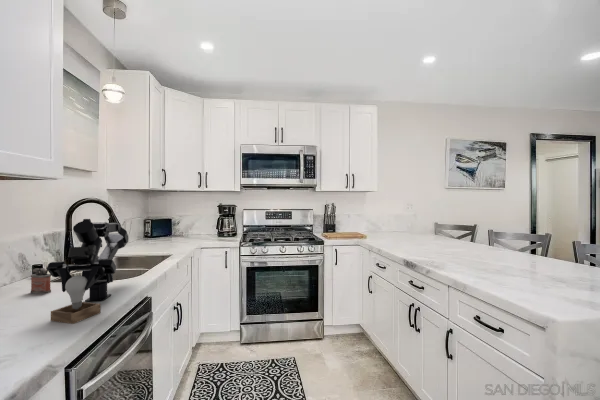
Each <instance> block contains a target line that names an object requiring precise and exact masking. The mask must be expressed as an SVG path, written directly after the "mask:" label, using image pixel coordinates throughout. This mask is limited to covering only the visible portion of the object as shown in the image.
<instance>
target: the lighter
mask: <svg viewBox="0 0 600 400" xmlns="http://www.w3.org/2000/svg"><path fill="white" fill-rule="evenodd" d="M32 272H33V273H34V274H33V273H32V274H30V279H31V281H30V283H31V285H30V287H31V288H30V294H36V295H44V294H45V295H46V294H50V293H52V289H51V278H52V275H51V274H50V273H49V272H48V270H47V269H46V268H42V267H41V268H33V269H32Z"/></svg>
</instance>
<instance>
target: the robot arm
mask: <svg viewBox="0 0 600 400" xmlns="http://www.w3.org/2000/svg"><path fill="white" fill-rule="evenodd" d="M72 230H73V232H74V234H75V236H76V238H77V240H78V241H79V242H80V243H81V244H80V246H72V247H69V251H68V256H67V257H68V258H70V259H71V260H70V261H71V263H73V264H67V263H66V262H65V261H51V262H49V263H48V264H47V266H46V268H45V269H47V270H48V274H51V278H52V277H53V278H61V292H63V293H65V292H67V291H66V290H65V284H66V282H67V281H68V280H69V279H70V278H72V277H73V276H72V275H71V272H74V271H75V272H81V276H83V277H85V278H86V279H87V280H88V281H87V284H86V287H85V290H86V291H88V290H89V296H88V298H87V299H85V300H84V302H100V301H105V300H106V299H108V298H110V297H111V296H112V294H111V293H108V284H110V283H113V282H114V274H115V273H116V270H117V266H116V263H115V261H114V258H115V256H116V254H117V253H118V251H119V250H121V249H123V248H124V247H126V245H127V244H128V243H129V234H128V231H127V230H126V229H125V228H123V227H122V225H121V223H119V222H106V221H105V222H98V221H97V222H95V221H94V222H92V221H91V218H84V219H83V220H82V221H79V222H76V224H75V225H73V227H72ZM102 238H104V241H105V244H106V245H105V247H104V248H103V250H102V251H101V253H100V254H99V252H100V250H101V248H102V247H103V239H102Z"/></svg>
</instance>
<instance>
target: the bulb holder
mask: <svg viewBox="0 0 600 400" xmlns="http://www.w3.org/2000/svg"><path fill="white" fill-rule="evenodd" d="M101 306H102V305H101V303H96V302H89V301H87V302H85V301H82V306H81V307H80V308H79V309H73V308H72V303H70V304H68V305H65V306H63V307H59V308H56V309H54V310H51V311H50V321H51V322H56V323H63V324H64V323H65V324H72V325H73V324H77V323H79V322H80V321H84V320H86V319H88V318H91V317H93V316H95V315H98V314H100V313H101V309H102V307H101Z"/></svg>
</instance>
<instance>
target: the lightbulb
mask: <svg viewBox="0 0 600 400" xmlns="http://www.w3.org/2000/svg"><path fill="white" fill-rule="evenodd" d="M87 281H88V280H87V279H86V278H85V277H83V276H82V275H74V276H72V278H70V279H69V280H68V281H67V282H66V284H65V290H66V291H65V292H66V293H67V294H68V295H69V298H70V303H71V304H72V308H73V309H79V308H80V307H81V306H82V302H83V300H84V295H85V293H86V292H87V290H85V287H86V284H87Z"/></svg>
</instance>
